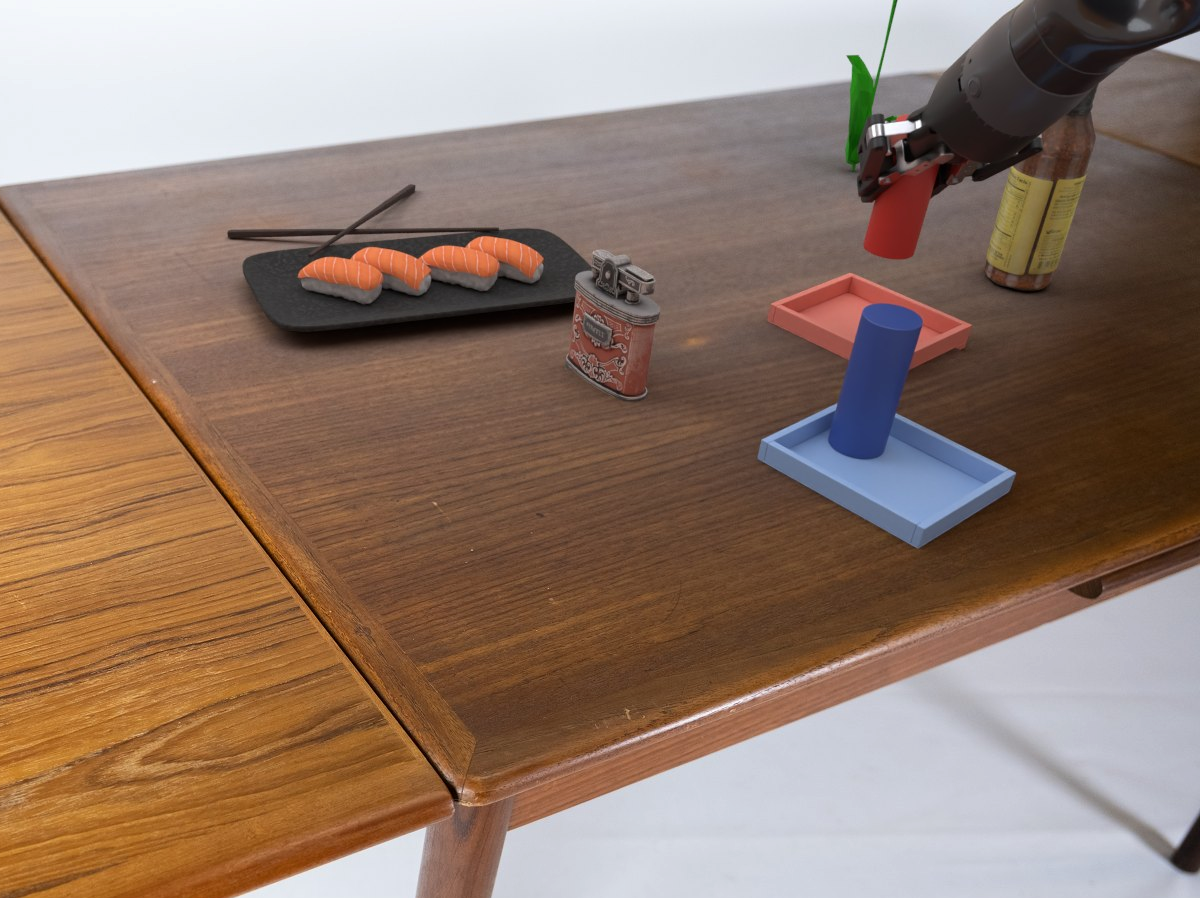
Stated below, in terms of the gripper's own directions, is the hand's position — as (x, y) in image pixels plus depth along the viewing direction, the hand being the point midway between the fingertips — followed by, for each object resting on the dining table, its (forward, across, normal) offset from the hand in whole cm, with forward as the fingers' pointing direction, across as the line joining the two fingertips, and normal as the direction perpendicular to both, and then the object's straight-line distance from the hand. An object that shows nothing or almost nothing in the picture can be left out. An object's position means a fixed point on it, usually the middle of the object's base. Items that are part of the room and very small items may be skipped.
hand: (891, 190), depth 101 cm
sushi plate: (+19, +37, -2) cm, 42 cm away
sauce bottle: (+14, -19, +2) cm, 24 cm away
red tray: (+7, 0, +10) cm, 12 cm away
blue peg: (-6, +8, +22) cm, 24 cm away
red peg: (+1, 0, +4) cm, 4 cm away
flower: (+34, -15, -17) cm, 41 cm away
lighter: (+3, +24, +14) cm, 28 cm away
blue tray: (-8, +8, +25) cm, 27 cm away
